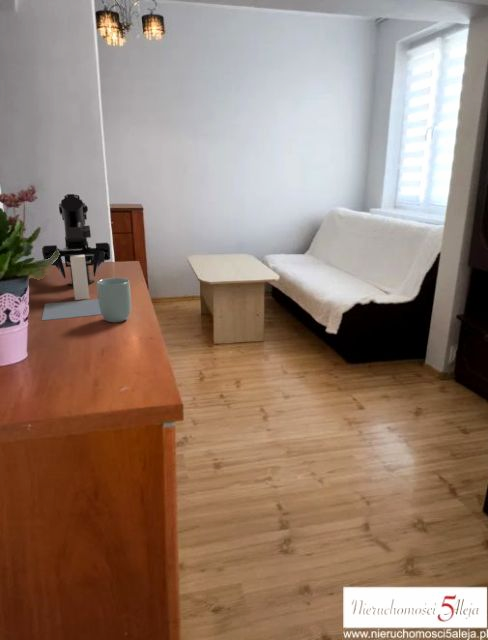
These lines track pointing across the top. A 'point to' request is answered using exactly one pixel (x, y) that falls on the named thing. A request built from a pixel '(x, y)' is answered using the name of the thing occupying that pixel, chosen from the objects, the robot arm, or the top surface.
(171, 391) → the top surface
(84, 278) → the block
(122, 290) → the cup
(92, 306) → the slate mat
